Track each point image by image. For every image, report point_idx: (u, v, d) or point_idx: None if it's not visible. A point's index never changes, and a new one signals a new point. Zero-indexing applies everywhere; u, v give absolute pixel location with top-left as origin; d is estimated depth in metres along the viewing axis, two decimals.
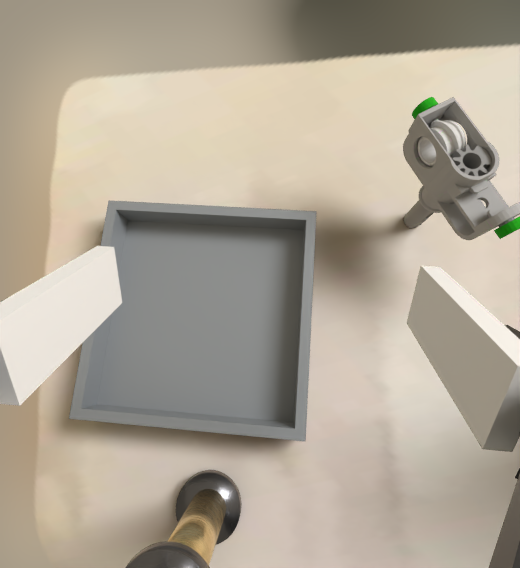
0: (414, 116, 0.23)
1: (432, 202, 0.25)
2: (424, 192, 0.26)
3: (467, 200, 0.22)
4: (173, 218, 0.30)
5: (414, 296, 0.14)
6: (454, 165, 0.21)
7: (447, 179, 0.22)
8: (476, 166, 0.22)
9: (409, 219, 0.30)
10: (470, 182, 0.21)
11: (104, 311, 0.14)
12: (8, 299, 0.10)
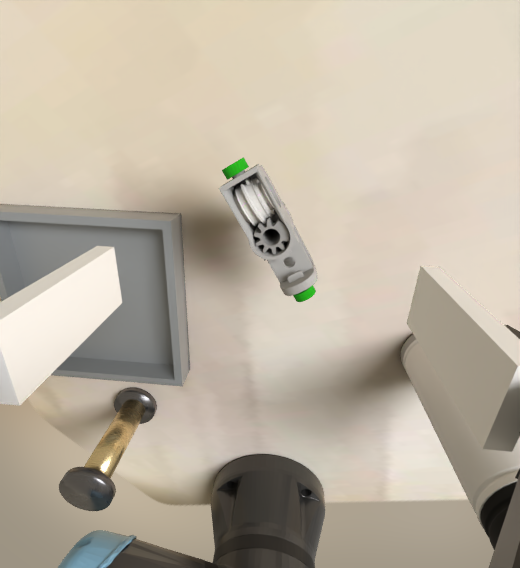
0: None
1: None
2: None
3: (276, 259, 0.24)
4: None
5: (414, 296, 0.14)
6: (251, 245, 0.22)
7: None
8: None
9: None
10: None
11: (105, 311, 0.14)
12: (8, 299, 0.10)
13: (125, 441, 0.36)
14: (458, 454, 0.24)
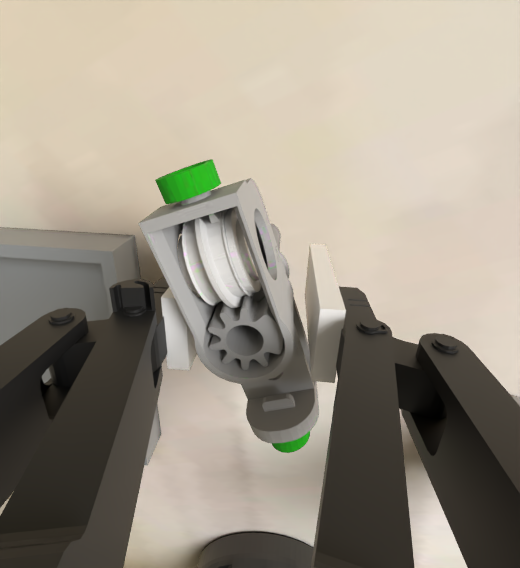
0: None
1: None
2: None
3: None
4: None
5: (308, 270, 0.17)
6: (200, 351, 0.10)
7: None
8: None
9: None
10: None
11: None
12: None
13: None
14: None
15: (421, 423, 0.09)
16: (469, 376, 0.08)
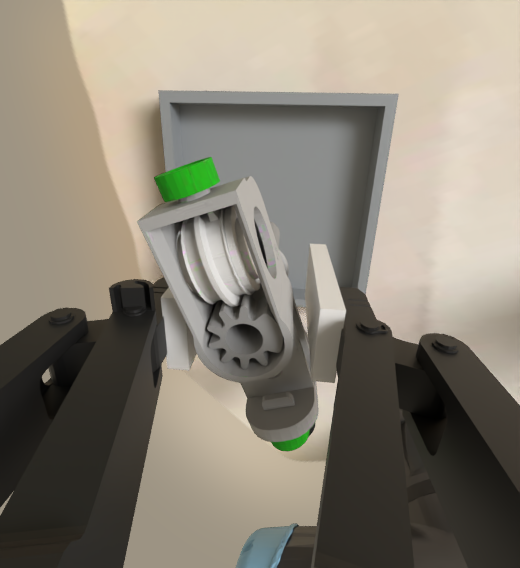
0: None
1: None
2: None
3: None
4: (231, 104, 0.27)
5: (308, 270, 0.17)
6: (199, 349, 0.10)
7: None
8: None
9: None
10: None
11: None
12: None
13: None
14: None
15: (421, 423, 0.09)
16: (469, 376, 0.08)
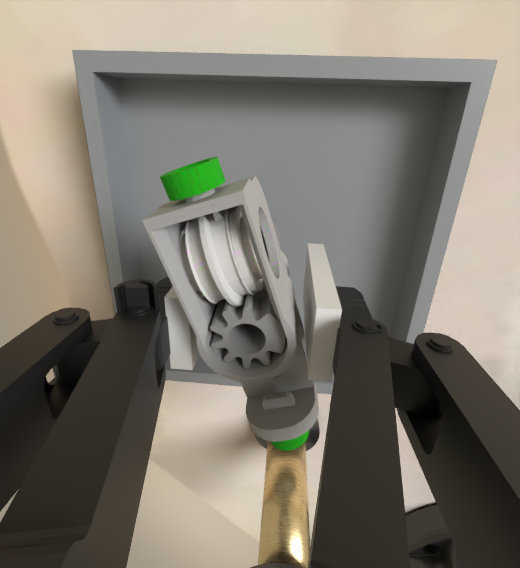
0: None
1: None
2: None
3: None
4: (202, 78, 0.16)
5: (306, 270, 0.17)
6: (202, 349, 0.10)
7: None
8: None
9: None
10: None
11: None
12: None
13: (306, 495, 0.21)
14: None
15: (416, 422, 0.09)
16: (465, 375, 0.08)
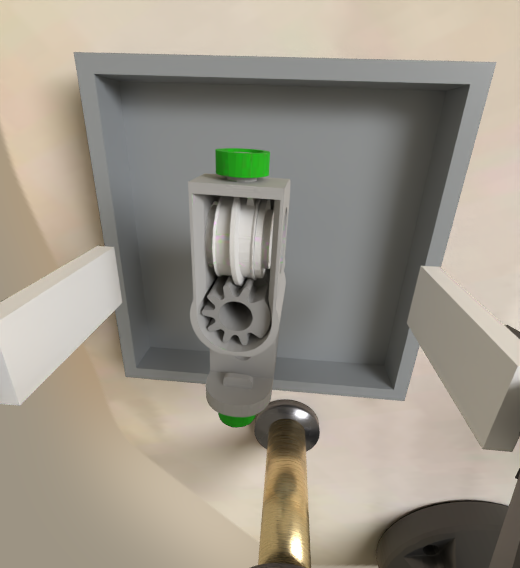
0: None
1: None
2: None
3: None
4: (203, 80, 0.16)
5: (414, 296, 0.14)
6: (193, 312, 0.11)
7: None
8: (251, 318, 0.12)
9: None
10: None
11: (105, 311, 0.14)
12: (8, 299, 0.10)
13: (306, 495, 0.21)
14: None
15: None
16: None
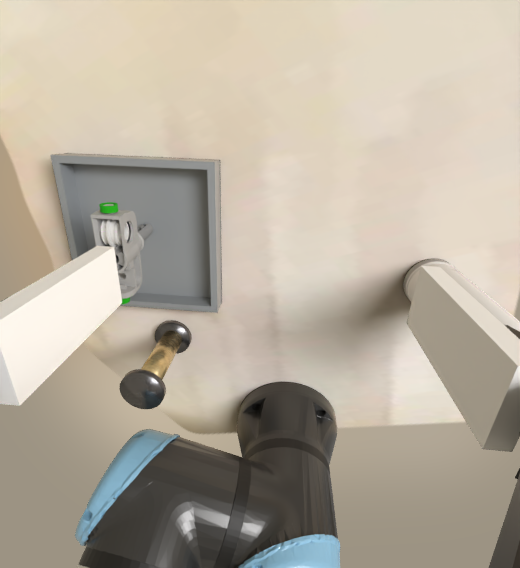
0: None
1: None
2: None
3: None
4: None
5: (414, 296, 0.14)
6: None
7: None
8: None
9: None
10: None
11: (104, 311, 0.14)
12: (8, 299, 0.10)
13: (169, 359, 0.43)
14: None
15: None
16: None
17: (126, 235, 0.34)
